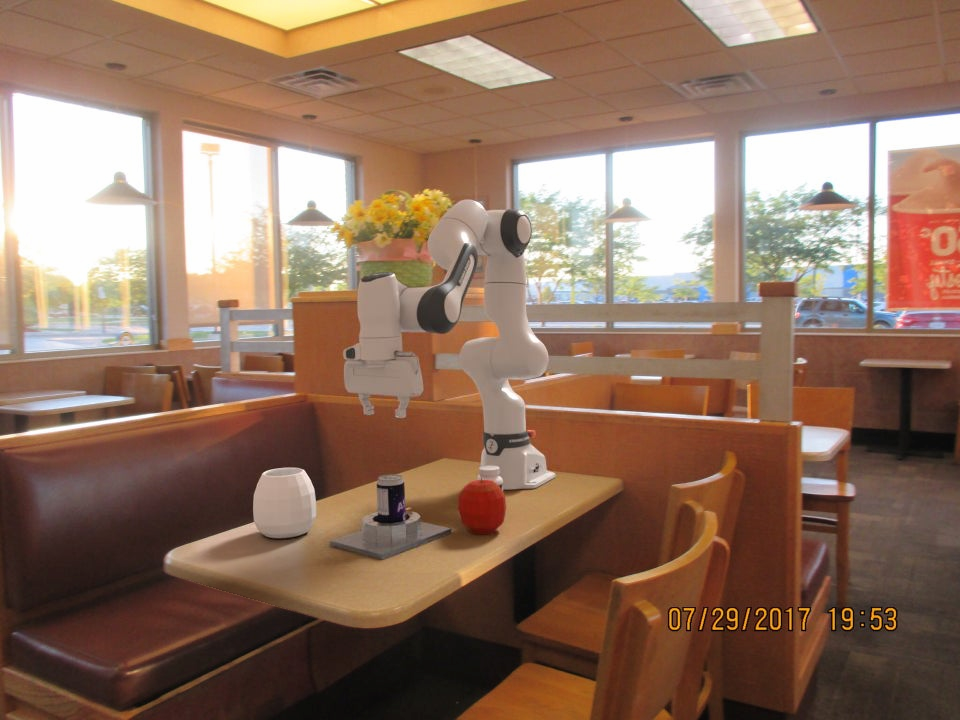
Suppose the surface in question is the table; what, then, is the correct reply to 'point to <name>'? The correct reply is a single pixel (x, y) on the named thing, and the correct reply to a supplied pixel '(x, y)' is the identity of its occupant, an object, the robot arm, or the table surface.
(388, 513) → the beverage can
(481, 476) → the pill bottle
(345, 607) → the table surface
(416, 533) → the hub plate
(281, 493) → the cup
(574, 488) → the table surface
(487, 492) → the apple
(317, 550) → the table surface
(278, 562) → the table surface
